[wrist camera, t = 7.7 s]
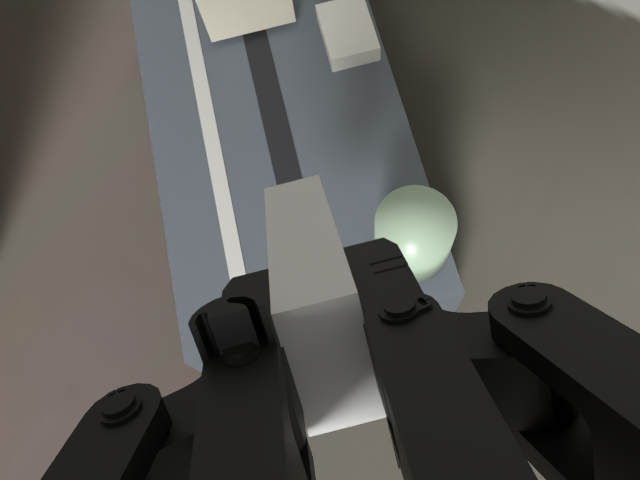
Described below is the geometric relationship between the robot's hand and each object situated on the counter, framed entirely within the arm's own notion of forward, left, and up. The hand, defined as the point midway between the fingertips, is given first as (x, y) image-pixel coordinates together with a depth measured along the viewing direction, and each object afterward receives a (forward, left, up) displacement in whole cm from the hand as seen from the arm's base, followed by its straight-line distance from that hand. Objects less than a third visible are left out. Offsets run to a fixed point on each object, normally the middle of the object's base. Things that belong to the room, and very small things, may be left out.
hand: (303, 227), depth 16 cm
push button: (+2, +3, -5) cm, 6 cm away
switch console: (-6, +4, -9) cm, 12 cm away
